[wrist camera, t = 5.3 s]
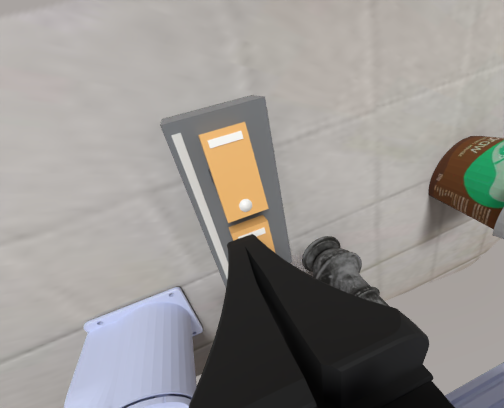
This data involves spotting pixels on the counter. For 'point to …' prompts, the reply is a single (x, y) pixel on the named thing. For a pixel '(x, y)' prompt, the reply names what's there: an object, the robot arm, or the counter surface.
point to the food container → (473, 180)
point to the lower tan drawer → (253, 230)
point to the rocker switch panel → (200, 179)
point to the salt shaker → (338, 268)
